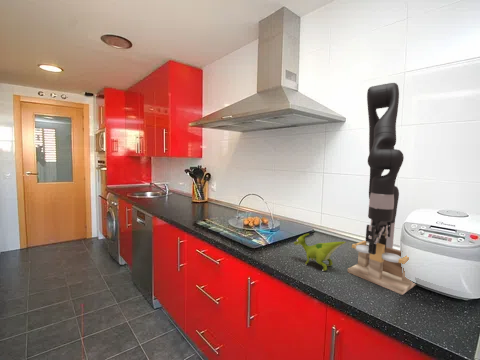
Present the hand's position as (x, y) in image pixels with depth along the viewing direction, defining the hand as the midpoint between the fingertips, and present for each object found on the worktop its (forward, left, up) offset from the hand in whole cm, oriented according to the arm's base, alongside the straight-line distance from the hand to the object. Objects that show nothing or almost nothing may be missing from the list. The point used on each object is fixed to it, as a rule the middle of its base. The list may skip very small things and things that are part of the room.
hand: (377, 251), depth 87 cm
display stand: (-5, 0, -11) cm, 12 cm away
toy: (+6, -20, -12) cm, 24 cm away
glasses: (-3, 0, -3) cm, 4 cm away
